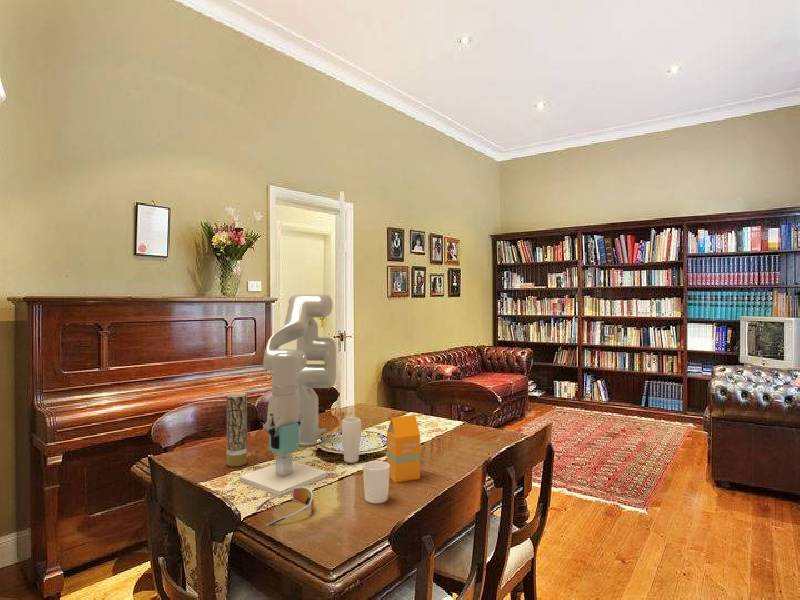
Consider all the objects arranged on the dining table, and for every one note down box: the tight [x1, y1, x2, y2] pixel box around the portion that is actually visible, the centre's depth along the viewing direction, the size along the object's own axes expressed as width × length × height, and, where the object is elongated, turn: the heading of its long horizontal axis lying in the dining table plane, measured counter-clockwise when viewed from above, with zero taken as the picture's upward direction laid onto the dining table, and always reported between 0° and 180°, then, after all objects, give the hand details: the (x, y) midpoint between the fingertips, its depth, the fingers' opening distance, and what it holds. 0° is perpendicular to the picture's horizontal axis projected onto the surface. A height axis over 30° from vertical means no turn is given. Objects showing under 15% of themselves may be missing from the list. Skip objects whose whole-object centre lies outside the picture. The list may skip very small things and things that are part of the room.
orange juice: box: [386, 414, 421, 483], centre depth 163 cm, size 8×9×20 cm
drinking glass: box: [341, 416, 362, 464], centre depth 178 cm, size 7×7×15 cm
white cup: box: [362, 460, 390, 504], centre depth 145 cm, size 8×8×10 cm
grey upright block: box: [275, 453, 293, 477], centre depth 160 cm, size 4×4×6 cm
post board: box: [238, 460, 329, 497], centre depth 160 cm, size 20×20×2 cm
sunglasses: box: [255, 486, 315, 526], centre depth 136 cm, size 14×15×5 cm
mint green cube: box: [268, 423, 300, 455], centre depth 160 cm, size 7×7×9 cm
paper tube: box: [226, 391, 248, 468], centre depth 174 cm, size 7×7×25 cm
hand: (283, 444), depth 160 cm, fingers closed on mint green cube, 6 cm apart
